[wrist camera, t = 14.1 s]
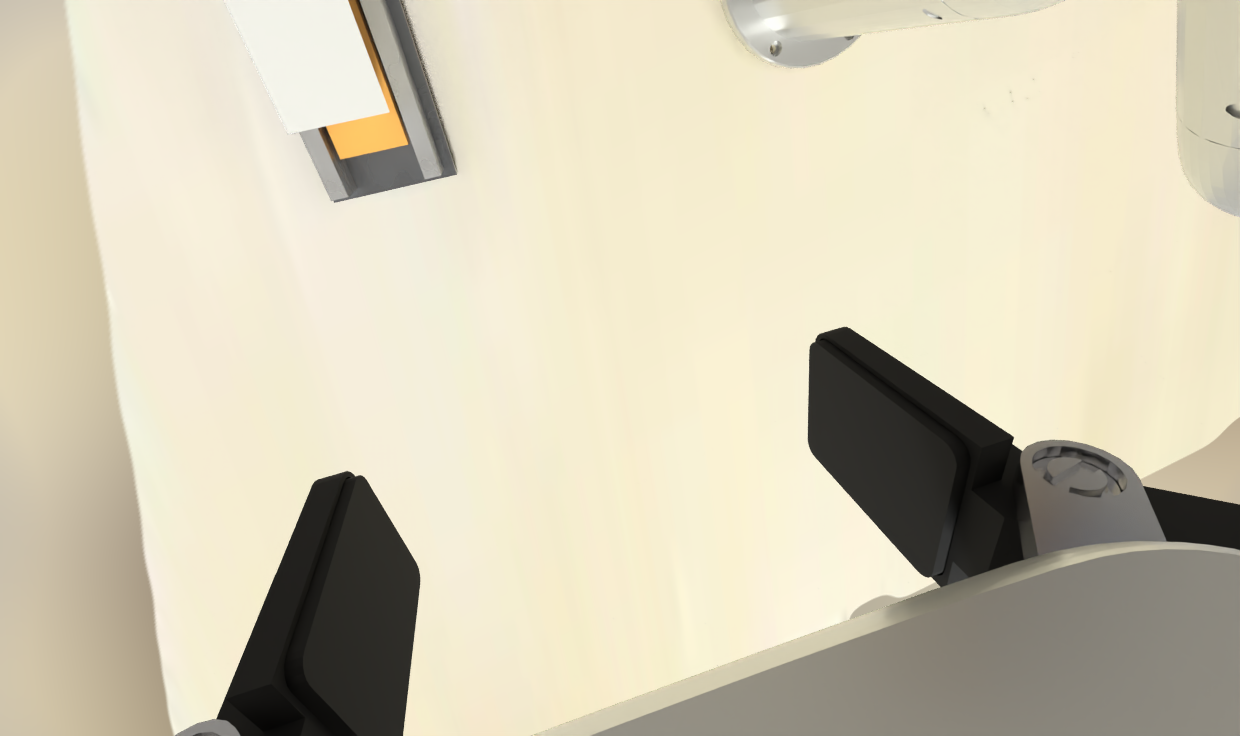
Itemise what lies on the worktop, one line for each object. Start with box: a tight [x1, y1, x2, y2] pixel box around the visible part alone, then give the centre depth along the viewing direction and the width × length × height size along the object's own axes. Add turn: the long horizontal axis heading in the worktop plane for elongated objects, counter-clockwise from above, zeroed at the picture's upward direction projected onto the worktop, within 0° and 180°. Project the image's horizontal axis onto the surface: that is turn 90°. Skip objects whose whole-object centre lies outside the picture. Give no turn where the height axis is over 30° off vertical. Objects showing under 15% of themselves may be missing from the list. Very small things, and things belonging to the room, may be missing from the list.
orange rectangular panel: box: [326, 0, 410, 160], centre depth 28 cm, size 4×11×1 cm, turn 10°
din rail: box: [299, 0, 457, 203], centre depth 29 cm, size 8×16×4 cm, turn 10°
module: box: [224, 0, 390, 134], centre depth 23 cm, size 4×7×10 cm, turn 10°
